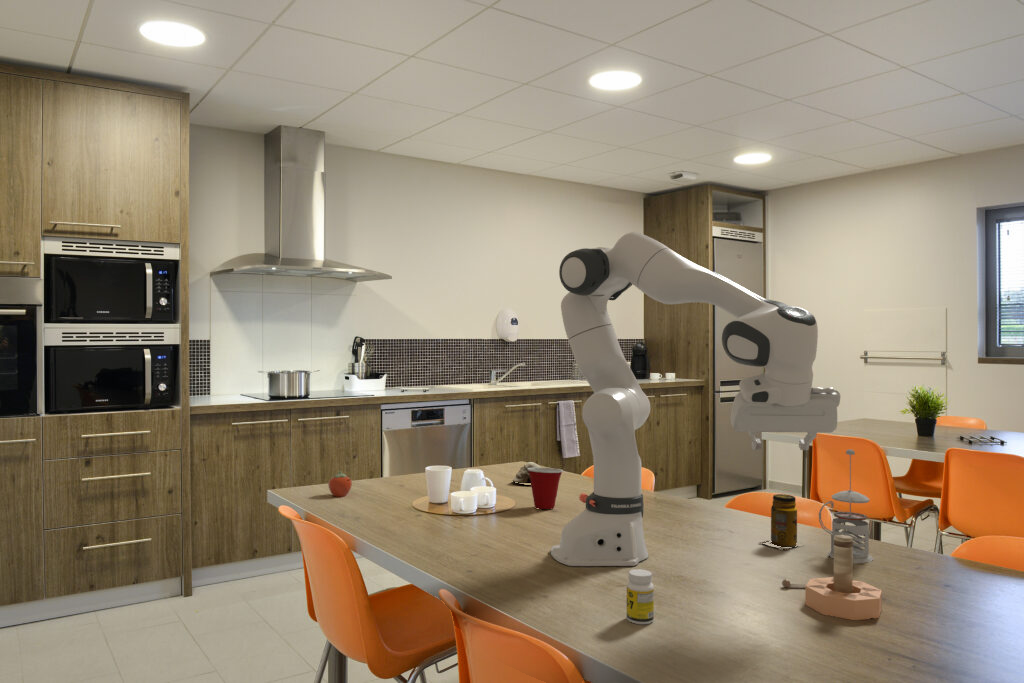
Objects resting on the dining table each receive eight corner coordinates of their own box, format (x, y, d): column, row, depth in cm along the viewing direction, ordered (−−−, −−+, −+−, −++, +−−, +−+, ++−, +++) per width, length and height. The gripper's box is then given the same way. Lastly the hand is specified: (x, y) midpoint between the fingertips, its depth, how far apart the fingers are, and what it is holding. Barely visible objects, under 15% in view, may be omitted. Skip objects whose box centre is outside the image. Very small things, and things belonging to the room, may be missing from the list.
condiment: (804, 545, 177) (804, 496, 178) (783, 551, 173) (783, 500, 173) (779, 539, 184) (779, 491, 184) (757, 544, 179) (757, 495, 179)
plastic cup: (569, 506, 219) (569, 467, 219) (551, 513, 210) (552, 472, 210) (538, 502, 225) (538, 463, 225) (520, 508, 216) (520, 468, 216)
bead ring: (836, 621, 128) (836, 601, 128) (793, 598, 140) (793, 579, 140) (896, 616, 130) (896, 596, 130) (849, 593, 143) (849, 575, 143)
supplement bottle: (623, 615, 130) (623, 568, 130) (649, 614, 130) (649, 568, 131) (630, 625, 125) (630, 576, 125) (656, 624, 126) (657, 576, 126)
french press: (871, 565, 161) (871, 453, 161) (815, 557, 167) (815, 449, 168) (875, 555, 170) (876, 448, 170) (822, 547, 176) (822, 444, 176)
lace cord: (783, 588, 145) (783, 580, 145) (780, 586, 147) (780, 578, 147) (872, 590, 145) (872, 582, 145) (868, 587, 146) (868, 579, 146)
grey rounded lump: (510, 484, 250) (511, 459, 257) (512, 499, 258) (513, 474, 265) (544, 483, 249) (545, 458, 256) (546, 499, 257) (546, 474, 264)
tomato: (348, 498, 229) (349, 472, 229) (325, 498, 229) (325, 472, 229) (354, 493, 236) (354, 469, 237) (331, 493, 237) (331, 468, 237)
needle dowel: (841, 610, 133) (841, 539, 133) (829, 604, 136) (829, 535, 136) (856, 609, 134) (856, 539, 134) (844, 603, 137) (844, 534, 137)
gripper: (836, 381, 145) (827, 441, 150) (731, 380, 146) (726, 440, 152) (847, 395, 139) (837, 457, 144) (738, 394, 141) (732, 456, 146)
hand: (779, 448), depth 148 cm, fingers open, 8 cm apart
